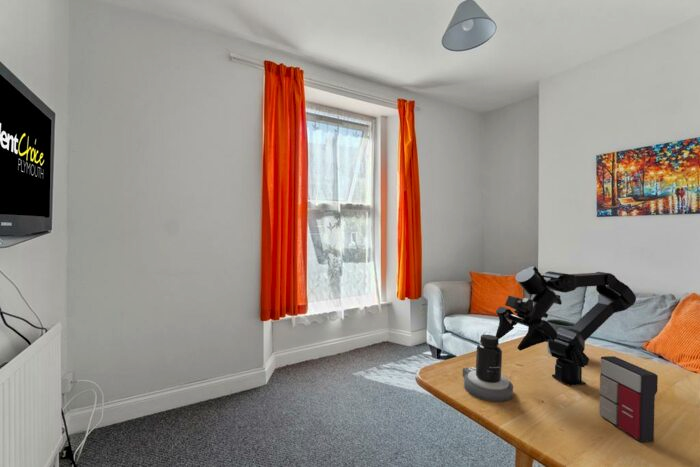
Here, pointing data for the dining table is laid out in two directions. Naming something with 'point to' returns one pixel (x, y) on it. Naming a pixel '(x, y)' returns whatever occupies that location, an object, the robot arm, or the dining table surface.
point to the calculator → (628, 397)
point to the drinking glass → (559, 326)
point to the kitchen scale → (487, 387)
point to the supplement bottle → (489, 359)
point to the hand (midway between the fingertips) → (506, 343)
